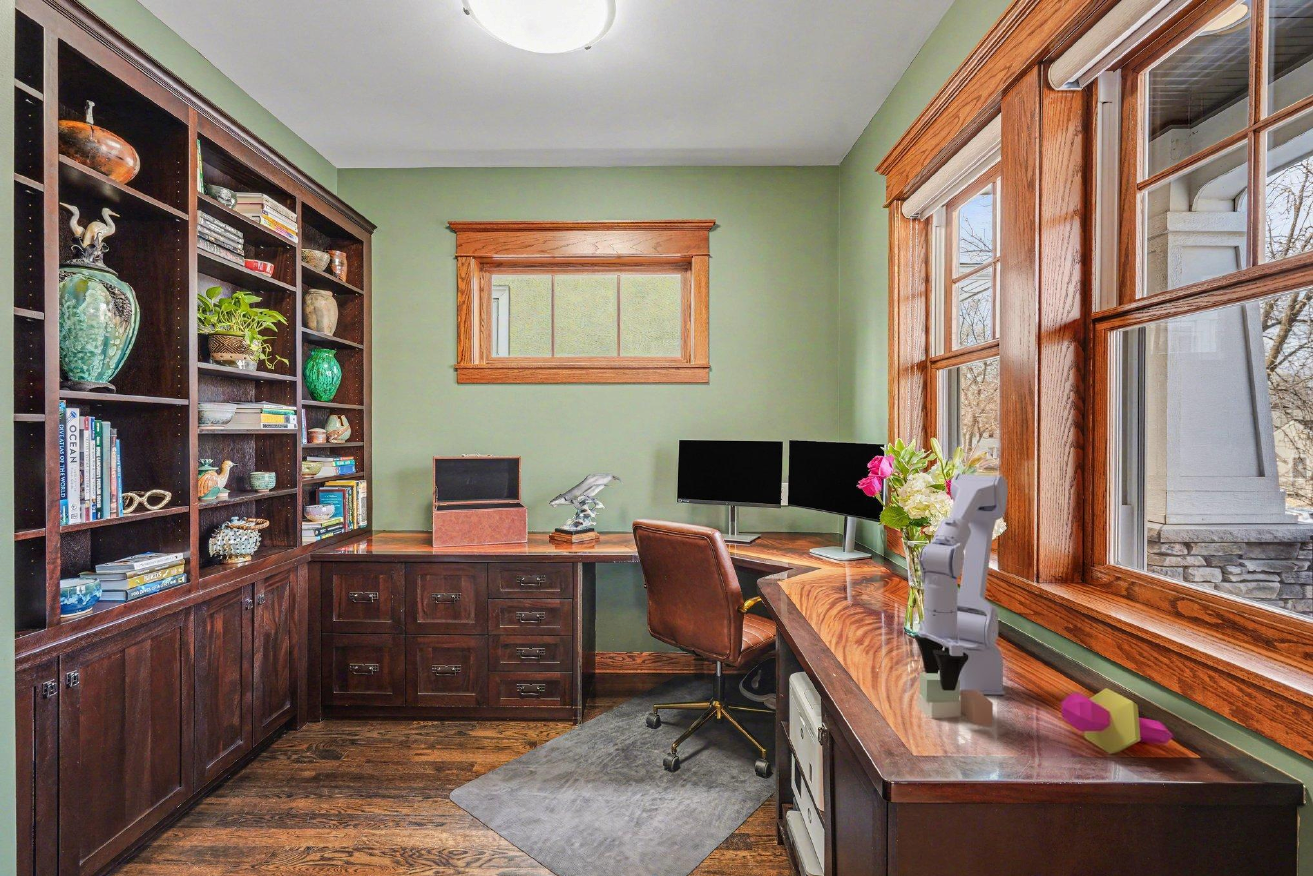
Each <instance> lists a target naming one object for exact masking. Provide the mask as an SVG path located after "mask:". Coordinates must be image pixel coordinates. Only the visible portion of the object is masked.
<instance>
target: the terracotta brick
mask: <svg viewBox="0 0 1313 876" xmlns="http://www.w3.org/2000/svg"><path fill="white" fill-rule="evenodd" d="M960 701H961V713H963V715H964V716H965V717H966V718H967V719H969V720H970V722H972V723H973V725H986V726H987V725H990V726H993V720H994V719H993V715H994V713H993V706H994V703H993V702H992V700H990V699H988V697H987V696H985V694H982V693H981V692H979V691H978V690H963V689H960Z"/></svg>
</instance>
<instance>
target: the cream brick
mask: <svg viewBox="0 0 1313 876" xmlns="http://www.w3.org/2000/svg"><path fill="white" fill-rule="evenodd" d="M918 711H920V712H921V713H923V714H924V715H926V716H927V717H929V718H930V719H945V718H956V717H961V715H962V711H961V701H960V702H934V701H926V700H925V699H924V698H923V697H922V696H921V695H920V694H918Z"/></svg>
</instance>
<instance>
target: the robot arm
mask: <svg viewBox="0 0 1313 876" xmlns="http://www.w3.org/2000/svg"><path fill="white" fill-rule="evenodd" d="M1008 491H1009V490H1008V483H1007V480H1006V477H1004V475H1001V474H998V475H986V474H984V475H983V474H968V473H967V474H962V473H955V475H954V476H953V477H952V478H951V481H950V494H951V498H952V501H953V504H952V507H951V510H950V514H949V517H945V518H943V519H941V521H940V522H939V525H938V526H937V529H936V531H935V533H934V534H933V538H932V539H931V542H930V543H927V544H926V545H923V546H922V547H921V549H920V551H919V555H918V556H919V557H918V564H919V565H918V566H919V571H920V575H921V576H920V580H921V583H923V620H920V621H919V630H917V631H916V632H917V633H916V634H914V635H913V638H914V641H916V644H917V646H918V648H919V651H920V655H921V660H922V664H923V669H924V672H925V673H935V674H940V682H941V687H942V689H943V690H946V691H955V689H956V685H957V682H958V679H959V680H960V689H963V690H978V691H979V692H981V693H982V694H983V695H998V696H999V695H1005V691H1004V659H1003V655H1002V652H1001V650H1000V648H999V647H998V646H997V645H996V644H997V641H998V637H999V613H998V610H997V608H996V607H995V606H994V605H993V604H992V603H990V601H988V600H987V598H986V591H987V583H988V574H989V568H990V567H989V566H990V560H991V559H990V558H991V551H992V543H993V534H994V529H995V526H996V522H997V520H1000V519H1002V518H1004V517H1005V513H1006V509H1007V502H1008ZM960 576H961V578H960V579H961V581H960V587H959V588H958V583H959V582H958V581H959V580H958V578H959V577H960ZM958 589H959V592H958Z"/></svg>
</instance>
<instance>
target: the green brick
mask: <svg viewBox="0 0 1313 876" xmlns="http://www.w3.org/2000/svg"><path fill="white" fill-rule="evenodd" d="M919 695H921V696H922V697H923V698H924V699H925V700H926V701H934V702H960V680H959V679H958V682H957V685H956V689H955V691H946V690H943V689H942V687H941V682H940V673H938V674H935V673H924V672H920V673H919Z"/></svg>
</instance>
